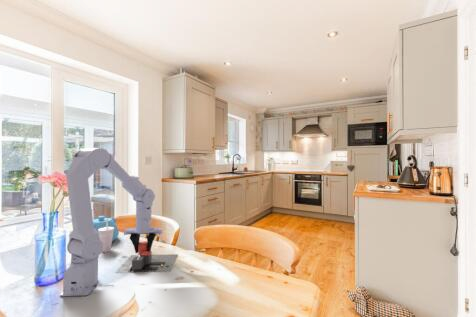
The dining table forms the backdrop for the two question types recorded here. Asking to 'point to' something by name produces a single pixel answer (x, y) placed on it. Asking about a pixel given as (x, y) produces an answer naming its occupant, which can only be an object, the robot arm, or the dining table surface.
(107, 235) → the smoothie
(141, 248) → the lockout cap
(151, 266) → the breaker panel
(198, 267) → the dining table surface
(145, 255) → the breaker tagged
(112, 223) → the teapot
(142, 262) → the breaker plain
